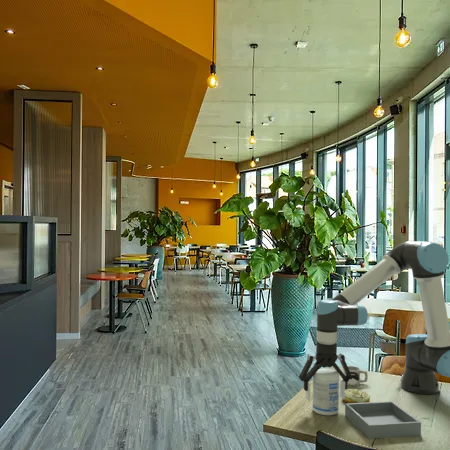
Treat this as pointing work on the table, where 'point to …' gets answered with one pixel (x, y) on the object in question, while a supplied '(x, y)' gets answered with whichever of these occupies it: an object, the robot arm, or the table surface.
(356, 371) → the mug
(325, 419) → the table surface
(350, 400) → the decorated donut
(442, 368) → the robot arm
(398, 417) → the bin
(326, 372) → the supplement tub
